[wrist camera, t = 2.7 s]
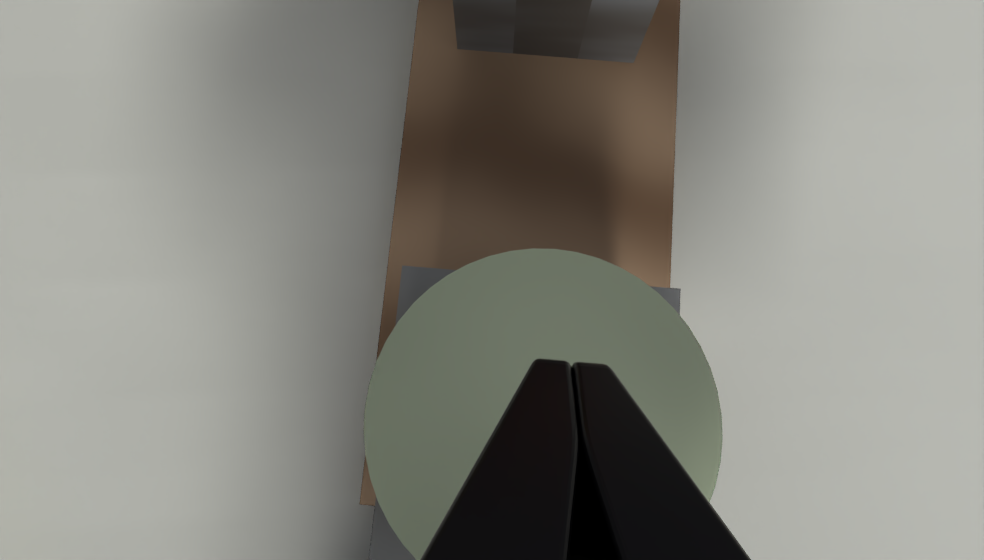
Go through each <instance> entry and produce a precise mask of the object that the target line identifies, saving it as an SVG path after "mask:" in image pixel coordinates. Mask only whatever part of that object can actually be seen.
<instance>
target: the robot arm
mask: <svg viewBox="0 0 984 560" xmlns="http://www.w3.org/2000/svg"><path fill="white" fill-rule="evenodd" d="M420 560H751V559H750V558H749V556H748V555H747V554H746V552H745V551H744V550H743V548H742V547H741V545H740V544H739V543H738V541H737V540H736V539H735V537H734V536H733V534H732V533H731V532H730V530H729V529H728V528H727V526H726V525H725V523H724V522H723V521H722V519H721V518H720V517H719V515H718V514H717V513H716V511H715V510H714V508H713V507H712V506H711V504H710V503H709V502H708V500H707V499H706V497H705V496H704V495H703V493H702V492H701V491H700V489H699V488H698V486H697V485H696V484H695V482H694V481H693V480H692V478H691V477H690V476H689V474H688V473H687V471H686V470H685V469H684V467H683V466H682V465H681V463H680V462H679V460H678V459H677V458H676V456H675V455H674V454H673V452H672V451H671V449H670V448H669V447H668V445H667V444H666V443H665V441H664V440H663V438H662V437H661V436H660V434H659V433H658V432H657V430H656V429H655V428H654V426H653V425H652V423H651V422H650V421H649V419H648V418H647V417H646V415H645V414H644V412H643V411H642V410H641V408H640V407H639V406H638V404H637V403H636V401H635V400H634V399H633V397H632V396H631V395H630V393H629V392H628V391H627V389H626V388H625V386H624V385H623V384H622V382H621V381H620V380H619V378H618V377H617V375H616V374H615V373H614V371H613V370H612V369H611V368H610V367H609V366H608V365H605V364H599V363H587V362H575V363H573V365H572V366H571V365H570V364H569V362H567V361H564V360H553V359H541V358H539V359H536V360H534V361H533V362H532V364H531V365H530V367H529V369H528V371H527V373H526V374H525V376H524V378H523V380H522V381H521V383H520V385H519V387H518V388H517V390H516V392H515V394H514V395H513V397H512V399H511V401H510V402H509V404H508V406H507V408H506V409H505V411H504V413H503V415H502V416H501V418H500V420H499V422H498V424H497V425H496V427H495V429H494V431H493V432H492V434H491V436H490V438H489V439H488V441H487V443H486V445H485V446H484V448H483V450H482V452H481V453H480V455H479V457H478V459H477V460H476V462H475V464H474V466H473V468H472V469H471V471H470V473H469V475H468V476H467V478H466V480H465V482H464V483H463V485H462V487H461V489H460V490H459V492H458V494H457V496H456V497H455V499H454V501H453V503H452V504H451V506H450V508H449V510H448V511H447V513H446V515H445V517H444V519H443V520H442V522H441V524H440V526H439V527H438V529H437V531H436V533H435V534H434V536H433V538H432V540H431V541H430V543H429V545H428V547H427V548H426V550H425V552H424V554H423V555H422V557H421V559H420Z"/></svg>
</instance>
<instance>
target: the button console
mask: <svg viewBox="0 0 984 560" xmlns="http://www.w3.org/2000/svg"><path fill="white" fill-rule="evenodd" d="M679 19H680V0H419V3H418V12H417V20H416V29H415V37H414V46H413V54H412V63H411V71H410V80H409V88H408V97H407V105H406V114H405V122H404V131H403V139H402V148H401V156H400V165H399V173H398V182H397V190H396V199H395V207H394V216H393V224H392V233H391V241H390V250H389V258H388V267H387V275H386V284H385V292H384V301H383V309H382V318H381V326H380V335H379V343H378V352H377V359H378V357H379V355H380V353H381V351H382V348H383V346H384V344H385V342H386V340H387V338H388V337H389V335H390V334H391V332H392V331H393V329H394V327H395V326H396V324H397V323H398V321H399V320H400V319H401V317H402V316H403V315H404V314H405V313H406V311H407V310H408V309H409V308H410V307H411V305H412V304H413V303H414V302H415V301H416V300H417V299H418V298H419V297H420V296H422V295H423V294H424V293H425V292H426V291H427V290H428V289H429V288H430V287H432V286H433V285H434V284H436V283H437V282H439V281H440V280H441V279H443V278H444V277H446V276H447V275H448V274H450V273H452V272H454V271H456V270H458V269H460V268H462V267H463V266H465V265H467V264H469V263H472V262H475V261H477V260H480V259H482V258H485V257H488V256H491V255H495V254H499V253H504V252H508V251H514V250H523V249H532V248H536V249H559V250H566V251H573V252H578V253H582V254H586V255H589V256H593V257H596V258H600V259H602V260H604V261H607V262H609V263H611V264H614V265H616V266H618V267H621V268H622V269H624V270H626V271H627V272H629V273H631V274H633V275H634V276H636V277H638V278H639V279H641V280H642V281H643V282H645V283H646V284H647V285H649V286H650V287H651V288H653V289H654V290H655V291H657V292H658V293H659V294H660V295H661V296H662V297H663V298H664V299H665V300H666V301H667V302H668V303H669V304H670V305H671V306H672V307H673V308H674V309H675V310H676V311H677V313H678V314H679V315H680V289H677V288H670V273H671V244H672V216H673V188H674V160H675V132H676V103H677V75H678V47H679ZM376 361H377V360H376ZM360 504H361V505H372V506H375V509H374V518H373V527H372V536H371V544H370V553H369V560H416V559H415V558H414V557H413V555H412V554H411V553H410V552H409V551H408V550H407V549H406V548H405V546H404V545H403V544H402V542H401V541H400V540H399V538H398V537H397V535H396V534H395V532H394V531H393V529H392V528H391V526H390V525H389V523H388V521H387V519H386V517H385V515H384V513H383V511H382V509H381V507H380V505H379V503H378V500H377V497H376V494H375V491H374V488H373V485H372V483H371V480H370V475H369V470H368V465H367V460H366V456H365V462H364V471H363V479H362V488H361V496H360Z"/></svg>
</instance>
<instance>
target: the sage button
mask: <svg viewBox="0 0 984 560" xmlns="http://www.w3.org/2000/svg"><path fill="white" fill-rule="evenodd" d="M539 358H541V359H553V360H564V361H567V362H569V364H570V365H571V366H572V365H573V363H575V362H587V363H599V364H605V365H608V366H609V367H610V368H611V369H612V370H613V371H614V373H615V374H616V375H617V377H618V378H619V380H620V381H621V382H622V384H623V385H624V386H625V388H626V389H627V391H628V392H629V393H630V395H631V396H632V397H633V399H634V400H635V401H636V403H637V404H638V406H639V407H640V408H641V410H642V411H643V412H644V414H645V415H646V417H647V418H648V419H649V421H650V422H651V423H652V425H653V426H654V428H655V429H656V430H657V432H658V433H659V434H660V436H661V437H662V438H663V440H664V441H665V443H666V444H667V445H668V447H669V448H670V449H671V451H672V452H673V454H674V455H675V456H676V458H677V459H678V460H679V462H680V463H681V465H682V466H683V467H684V469H685V470H686V471H687V473H688V474H689V476H690V477H691V478H692V480H693V481H694V482H695V484H696V485H697V486H698V488H699V489H700V491H701V492H702V493H703V495H704V496H705V497H706V499H707V500H708V502H710V499H711V497H712V494H713V491H714V488H715V485H716V480H717V476H718V471H719V467H720V461H721V449H722V417H721V409H720V403H719V398H718V392H717V388H716V385H715V382H714V378H713V375H712V372H711V369H710V366H709V364H708V362H707V360H706V357H705V355H704V353H703V351H702V348H701V346H700V345H699V343H698V341H697V340H696V338H695V336H694V335H693V333H692V331H691V330H690V328H689V327H688V325H687V324H686V323H685V322H684V320H683V319H682V318H681V317H680V315H679V314H678V313H677V311H676V310H675V309H674V308H673V307H672V306H671V305H670V304H669V303H668V302H667V301H666V300H665V299H664V298H663V297H662V296H661V295H660V294H659V293H658V292H657V291H655V290H654V289H653V288H651V287H650V286H649V285H647V284H646V283H645V282H643V281H642V280H641V279H639V278H638V277H636V276H634V275H633V274H631V273H629V272H627V271H626V270H624V269H622V268H621V267H618V266H616V265H614V264H611V263H609V262H607V261H604V260H602V259H600V258H596V257H593V256H589V255H586V254H582V253H578V252H573V251H566V250H559V249H536V248H532V249H523V250H514V251H508V252H504V253H499V254H495V255H491V256H488V257H485V258H482V259H480V260H477V261H475V262H472V263H469V264H467V265H465V266H463V267H462V268H460V269H458V270H456V271H454V272H452V273H450V274H448V275H447V276H446V277H444V278H443V279H441V280H440V281H439V282H437V283H436V284H434V285H433V286H432V287H430V288H429V289H428V290H427V291H426V292H425V293H424V294H423V295H422V296H420V297H419V298H418V299H417V300H416V301H415V302H414V303H413V304H412V305H411V307H410V308H409V309H408V310H407V311H406V313H405V314H404V315H403V316H402V317H401V319H400V320H399V321H398V323H397V324H396V326H395V327H394V329H393V331H392V332H391V334H390V335H389V337H388V338H387V340H386V342H385V344H384V346H383V348H382V351H381V353H380V355H379V357H378V359H377V361H376V364H375V367H374V371H373V374H372V377H371V380H370V383H369V388H368V393H367V399H366V404H365V415H364V443H365V456H366V460H367V465H368V470H369V475H370V480H371V483H372V485H373V488H374V491H375V494H376V497H377V500H378V503H379V505H380V507H381V509H382V511H383V513H384V515H385V517H386V519H387V521H388V523H389V525H390V526H391V528H392V529H393V531H394V532H395V534H396V535H397V537H398V538H399V540H400V541H401V542H402V544H403V545H404V546H405V548H406V549H407V550H408V551H409V552H410V553H411V554H412V555H413V557H414V558H415V559H416V560H420V559H421V557H422V555H423V554H424V552H425V550H426V548H427V547H428V545H429V543H430V541H431V540H432V538H433V536H434V534H435V533H436V531H437V529H438V527H439V526H440V524H441V522H442V520H443V519H444V517H445V515H446V513H447V511H448V510H449V508H450V506H451V504H452V503H453V501H454V499H455V497H456V496H457V494H458V492H459V490H460V489H461V487H462V485H463V483H464V482H465V480H466V478H467V476H468V475H469V473H470V471H471V469H472V468H473V466H474V464H475V462H476V460H477V459H478V457H479V455H480V453H481V452H482V450H483V448H484V446H485V445H486V443H487V441H488V439H489V438H490V436H491V434H492V432H493V431H494V429H495V427H496V425H497V424H498V422H499V420H500V418H501V416H502V415H503V413H504V411H505V409H506V408H507V406H508V404H509V402H510V401H511V399H512V397H513V395H514V394H515V392H516V390H517V388H518V387H519V385H520V383H521V381H522V380H523V378H524V376H525V374H526V373H527V371H528V369H529V367H530V365H531V364H532V362H533V361H534V360H536V359H539Z"/></svg>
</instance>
